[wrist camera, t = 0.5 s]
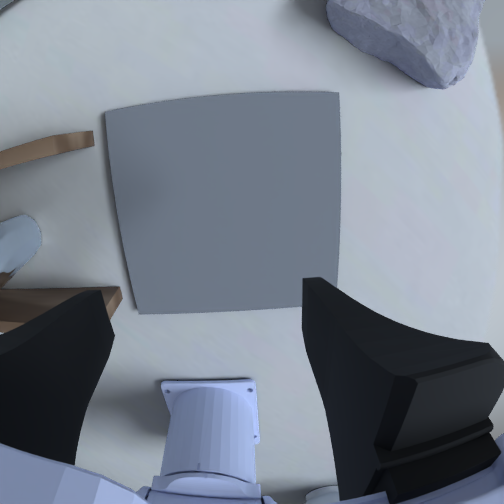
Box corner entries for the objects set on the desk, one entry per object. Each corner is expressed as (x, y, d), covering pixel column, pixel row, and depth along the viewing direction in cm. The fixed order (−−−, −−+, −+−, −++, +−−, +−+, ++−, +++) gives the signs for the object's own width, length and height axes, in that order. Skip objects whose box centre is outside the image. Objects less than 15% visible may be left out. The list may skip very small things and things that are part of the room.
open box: (122, 298, 22) (98, 339, 18) (-9, 298, 22) (-39, 327, 18) (92, 130, 18) (52, 135, 13) (-42, 170, 18) (-81, 185, 13)
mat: (333, 299, 23) (335, 303, 22) (141, 309, 23) (139, 314, 22) (336, 93, 18) (339, 92, 17) (108, 112, 17) (104, 111, 17)
